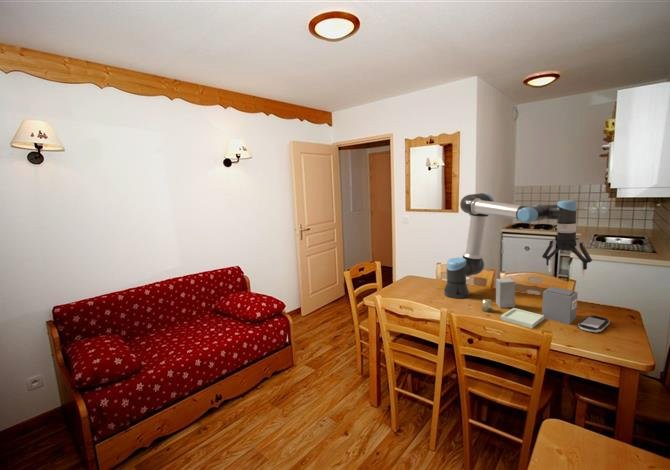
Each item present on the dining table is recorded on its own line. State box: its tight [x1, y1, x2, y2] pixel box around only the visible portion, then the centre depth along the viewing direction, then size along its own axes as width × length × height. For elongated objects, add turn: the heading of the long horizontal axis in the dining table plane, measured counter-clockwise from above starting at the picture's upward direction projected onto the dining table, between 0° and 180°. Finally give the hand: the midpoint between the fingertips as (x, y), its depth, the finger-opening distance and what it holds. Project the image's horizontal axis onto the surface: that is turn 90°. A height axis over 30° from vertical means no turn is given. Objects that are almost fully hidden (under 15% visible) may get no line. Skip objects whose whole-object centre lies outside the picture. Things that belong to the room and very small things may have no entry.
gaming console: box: [577, 315, 610, 334], centre depth 153 cm, size 19×9×2 cm, turn 125°
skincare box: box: [495, 277, 516, 309], centre depth 182 cm, size 8×7×16 cm
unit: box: [541, 286, 578, 325], centre depth 162 cm, size 12×10×15 cm
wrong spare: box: [481, 298, 493, 313], centre depth 178 cm, size 5×5×6 cm
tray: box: [500, 307, 545, 329], centre depth 165 cm, size 15×15×2 cm
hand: (565, 273), depth 159 cm, fingers open, 13 cm apart
